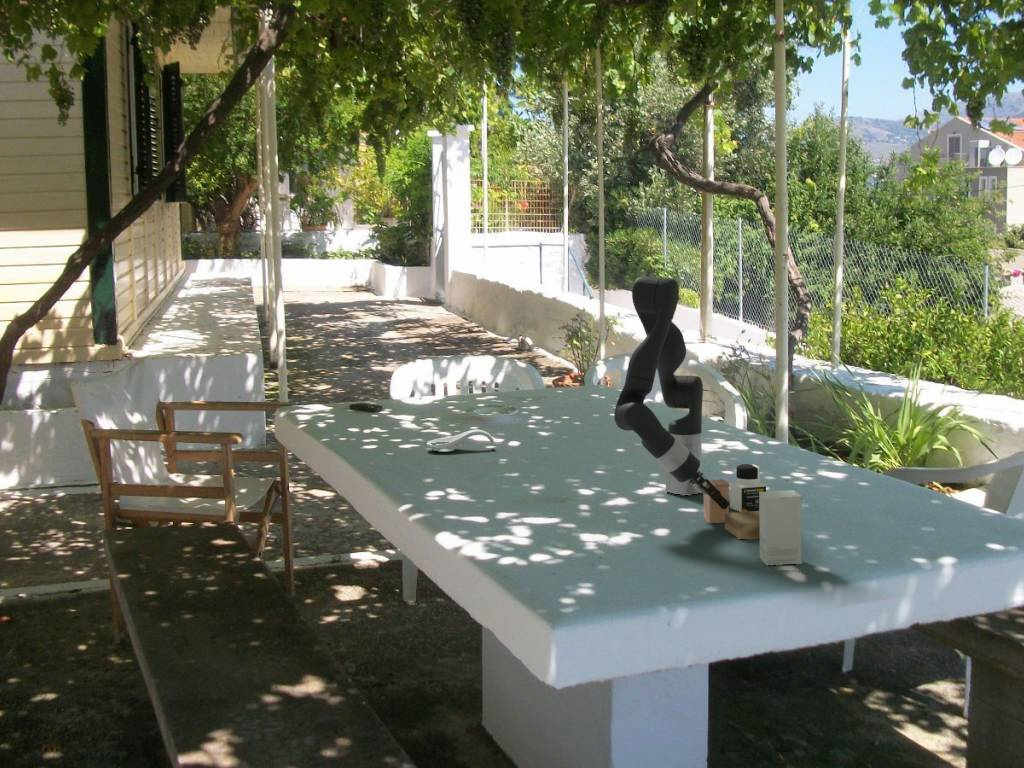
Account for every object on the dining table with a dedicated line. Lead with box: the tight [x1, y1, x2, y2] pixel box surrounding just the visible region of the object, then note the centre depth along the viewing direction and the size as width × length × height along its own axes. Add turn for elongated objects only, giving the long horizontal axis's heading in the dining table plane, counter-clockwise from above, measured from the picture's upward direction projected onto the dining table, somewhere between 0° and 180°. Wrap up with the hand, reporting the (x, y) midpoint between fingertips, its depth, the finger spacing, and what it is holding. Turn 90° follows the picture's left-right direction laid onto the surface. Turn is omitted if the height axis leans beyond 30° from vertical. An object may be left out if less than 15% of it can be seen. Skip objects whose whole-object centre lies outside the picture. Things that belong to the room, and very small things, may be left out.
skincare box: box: [759, 489, 803, 567], centre depth 263 cm, size 8×7×16 cm
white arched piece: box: [426, 429, 496, 448], centre depth 410 cm, size 24×12×7 cm, turn 96°
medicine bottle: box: [729, 463, 767, 512], centre depth 314 cm, size 7×7×12 cm
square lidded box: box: [703, 478, 730, 524], centre depth 303 cm, size 5×5×10 cm
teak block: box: [724, 511, 760, 540], centre depth 290 cm, size 11×11×4 cm
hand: (723, 503), depth 303 cm, fingers closed on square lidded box, 5 cm apart
